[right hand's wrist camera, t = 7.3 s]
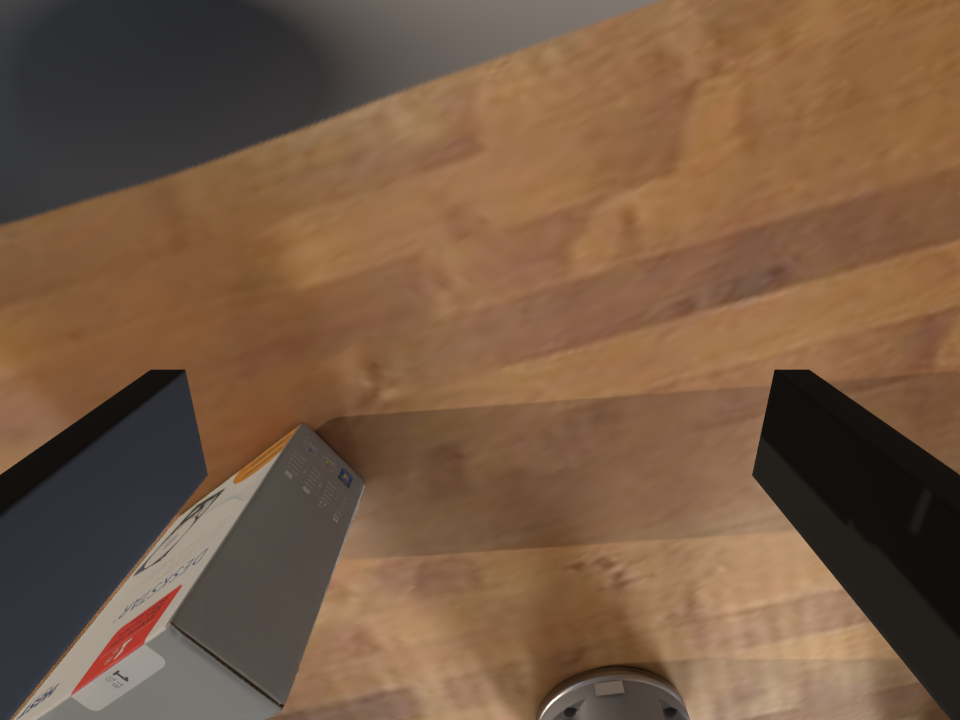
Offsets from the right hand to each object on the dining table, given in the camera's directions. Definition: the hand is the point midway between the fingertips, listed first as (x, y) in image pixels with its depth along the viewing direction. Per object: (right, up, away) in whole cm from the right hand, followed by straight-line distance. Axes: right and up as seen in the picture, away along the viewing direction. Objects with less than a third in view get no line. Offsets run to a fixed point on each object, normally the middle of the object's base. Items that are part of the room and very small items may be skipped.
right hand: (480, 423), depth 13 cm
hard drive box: (-18, -10, +34) cm, 40 cm away
